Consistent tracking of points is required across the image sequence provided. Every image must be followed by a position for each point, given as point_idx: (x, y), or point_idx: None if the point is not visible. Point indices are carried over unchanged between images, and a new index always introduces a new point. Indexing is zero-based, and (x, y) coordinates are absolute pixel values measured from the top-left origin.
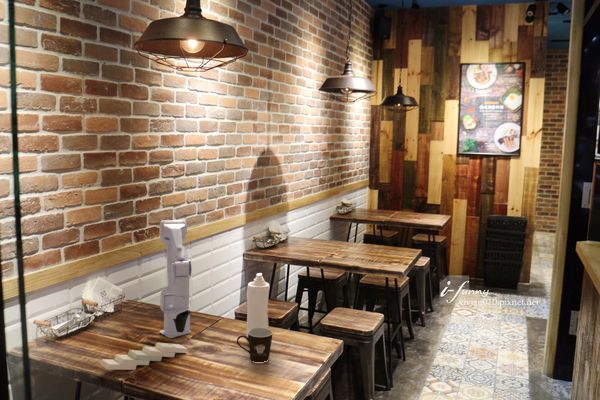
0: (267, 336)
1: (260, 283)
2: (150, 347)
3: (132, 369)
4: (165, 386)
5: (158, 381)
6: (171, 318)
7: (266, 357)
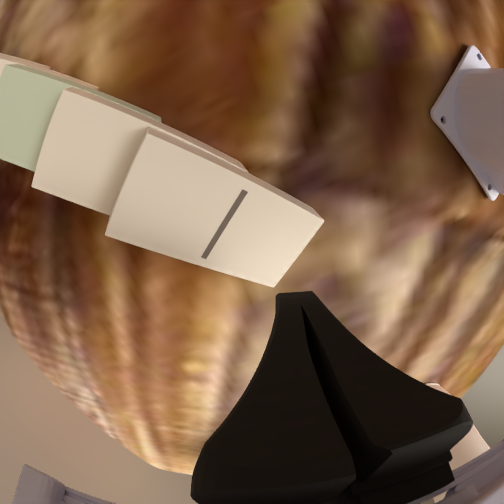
0: None
1: None
2: (97, 123)
3: None
4: (12, 302)
5: (12, 272)
6: (36, 473)
7: None
